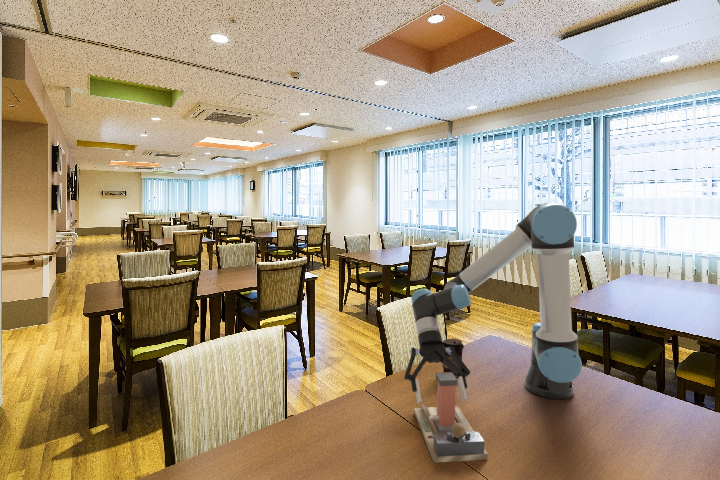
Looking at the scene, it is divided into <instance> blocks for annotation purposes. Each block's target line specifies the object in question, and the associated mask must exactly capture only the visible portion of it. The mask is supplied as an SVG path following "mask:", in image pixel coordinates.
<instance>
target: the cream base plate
mask: <svg viewBox="0 0 720 480" xmlns="http://www.w3.org/2000/svg"><path fill="white" fill-rule="evenodd" d="M413 410H414V412H413V413H414V416H415V418H416V421H417V423H418V426H419V429H420V432H421V433H422V436H423V438H424V443H426V447H427V449H428V451H429V454H430V457H431V460H432V462H433V463H448V462H450V463H451V462H466V461H467V462H469V461H482V460H483V461H484V460H488V459H489V456H488V455H489V453H488V451H487V450H486V448H485V447H484V454H477V455H460V456H443V457H437V454H436V452H435V449H434V447H433V434H444V433H439V432H438V430H437V428H436V426H435V424H434V422H433V420H429V417H430V416H436V415H437V406H433V407H432V406H430V407H428V406H427V404H423V403H421V407H414V408H413ZM455 421H456V422H457V423H461V424H462V425H464V427H465V429H466V431H469V432H475V431H474V429H473V428H472V426H471V425H470V423H469V421H468V420H467V418H466V416H465V414H464V413H463V411H462V410H461V408H460V406H458V405H455ZM451 433H452V432H451Z"/></svg>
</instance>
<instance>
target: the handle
mask: <svg viewBox="0 0 720 480" xmlns="http://www.w3.org/2000/svg"><path fill="white" fill-rule="evenodd" d="M435 379H436V381H437V382H436V383H437V384H436V385H437V387H436V389H437V390H436V391H437V392H436V394H437V395H436V403H437V404H436V407H437V415H436V416H430V417H429V420H433V422H434V424H435V426H436V428H437V430H438V432H439V433H447V432H452V431H451V428H452V426H453V424H455V423H457V422H456V421H455V406H456V386H458V380H457V379H458V378H457V377H455V376H454V374H453V373H452V372H446V373H443V372H435Z"/></svg>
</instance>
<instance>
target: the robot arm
mask: <svg viewBox="0 0 720 480" xmlns="http://www.w3.org/2000/svg"><path fill="white" fill-rule="evenodd" d="M577 226H578V221H577V218H576V215H575V213H574V212H573V211H572V210H571V209H570V208H569V207H567V206H566V205H565V204H562V203H558V202H550V203H549V202H547V203H546V202H545V203H542V204H539V205H537V206H535V207H533V209H532V210H531V211H530V212H529V213H528V214H527V215H526V216H525V217H524V218H523V219H521V220H520V222H518V223H517V224H516V225H515V229H514V230H513V231H512V232H510V233H509V234H508V235H506V236H505V237H504V238H503V239H502V240H500V241H499V242H498V243H497V244H495V245H494V246H493V247H491V248H490V249H489V250H487V252H484V254H483V255H482V256H480V257H479V258H478V259H476V260H475V261H473V262H472V264H469V266H468V267H466V268H465V269H464V270H463V271H461V272H460V273H459V274H458V275H456V276H455V277H454V278H452V279H449V281H447V282H446V284H444V288H443V290H439V291H436V292H432V291H431V290H429V289H425V288H423V289H418V290H415V291H414V292H413V293H412V294H411V306H412V311H413V318H414V321H415V322H414V323H415V327H416V334H417V340H418V346H419V348H416V347H412V348H411V349H410V358H409V361H408V364H407V368H406V370H405V373H404V377H403V379H404V380H406V381H407V380H408V381H409V382H410V384H411V385H410V386H411V392H413V393H415V398H416V403H417V405H421V404H422V395H421V389H420V384H419V378H417V377H418V375H419V373H420V372H421V370H422V369H423V367H424V366H425V364H426V363H429V364H433V363H434V364H435V363H436V364H438V363H441V364H442V365H443V364H445V365H446V366H447V367H448V368H449V369H450V370H451V371H452V372H454V373H455V374H456V375H457V376H458V377H457V378H456V379H457V385H458V388H459V392H460V396H461V401H462V402H466V401H467V400H468V395H467V391H466V389H467V388H468V383H467V377H469V375H470V374H471V370H470V369H469V368H468V366H467V365H466V364H465V363H464V361H463V359H462V360H461V359H460V357H459V356H458V355H457V353H456V352H455V349H454V347H453V346H450V347H448V348H445V347H444V346H443V339H442V338H443V336H442V334H441V328H440V324H439V319H438V316H441V315H443V314H448V313H450V312H454V311H457V310H462V309H464V308H467V307H470V305H471V303H472V301H471V300H472V299H471V297H470V296H471V295H470V294H471V293H472V292H473V291H474V290H475V289H477V288H478V287H480V285H482V284H483V283H485V282H486V281H487V280H488V279H489V278H491V277H493V276H494V275H495V274H496V273H498V272H499V271H500V270H502V269H503V268H504V267H506V266H507V265H508V264H509V263H511V262H512V261H513V260H515V259H516V258H518V257H519V256H520V255H521V254H523V253H524V252H525V251H527V250H528V249H529V248H530V247H531V249H532V251H534V252H535V253H536V254H537V273H538V275H537V276H538V277H537V279H538V295H539V296H538V297H539V319H540V322H535V323H534V324H533V325H532V329H531V353H530V354H531V355H530V356H531V357H530V359H531V360H530V366H529V368H528V371H527V373H526V376H525V379H524V386H525V388H526V389H527V390H528V391H529V392H531V393H533V394H535V395H538V396H540V397H543V398H547V399H552V400H565V399H568V398H571V397H572V396H573V395H574V384H573V381H574V380H576V379H577V378H578V377H579V376H580V374H581V373H582V369H583V362H582V358H581V357H580V355H579V338H578V334H577V333H575V332H574V331H573V330H572V329H573V328H572V327H573V326H572V325H573V324H572V306H571V302H572V301H571V276H570V275H571V274H570V273H571V272H570V252H571V251H572V250H573V249H574V248H575V234H576V232H577ZM445 352H447V353H448V354H449V355H450V356H451V358H452V359H453V361H454V362H455V363H456V365H457V366H458V367H459V368H458V367H457V366H456V365H455V364H454V363H453V362H452V361H450V360H449V359H448V357H447V356H446V355H445ZM418 354H419V355H420V356H421V357H422V358H421V360H420V362H419V363H418V365H417V366H416V368H415V369H414V371H413V373H412V374H411V371H412V367H413V364H414V362H415V359H416V357H418Z"/></svg>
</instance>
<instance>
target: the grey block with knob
mask: <svg viewBox="0 0 720 480" xmlns="http://www.w3.org/2000/svg"><path fill="white" fill-rule="evenodd" d="M433 447H434V449H435V452H436V454H437V457H443V456H460V455H477V454H484V448H485V440H484V438H483V437H482V435H481V434H480V432H479V431H474V432H469V431H466V434H465V436H464V437H459V438H456V437H454V435H453V434H452V433H451V432H447V433H444V434H433Z"/></svg>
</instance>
